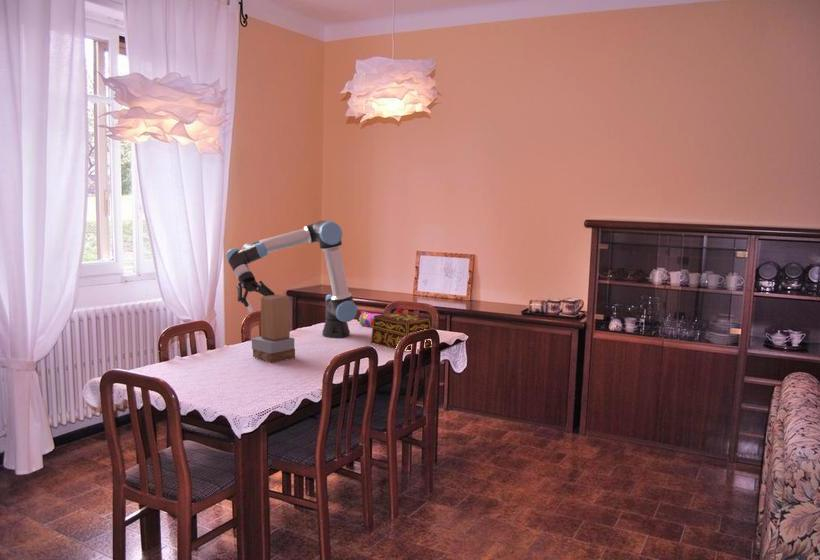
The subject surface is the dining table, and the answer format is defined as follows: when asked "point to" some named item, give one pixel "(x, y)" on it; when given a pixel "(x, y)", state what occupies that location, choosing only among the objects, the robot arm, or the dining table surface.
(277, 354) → the tower base block
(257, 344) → the tower top block
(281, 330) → the wooden block
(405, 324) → the decorative box
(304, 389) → the dining table surface
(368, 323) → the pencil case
